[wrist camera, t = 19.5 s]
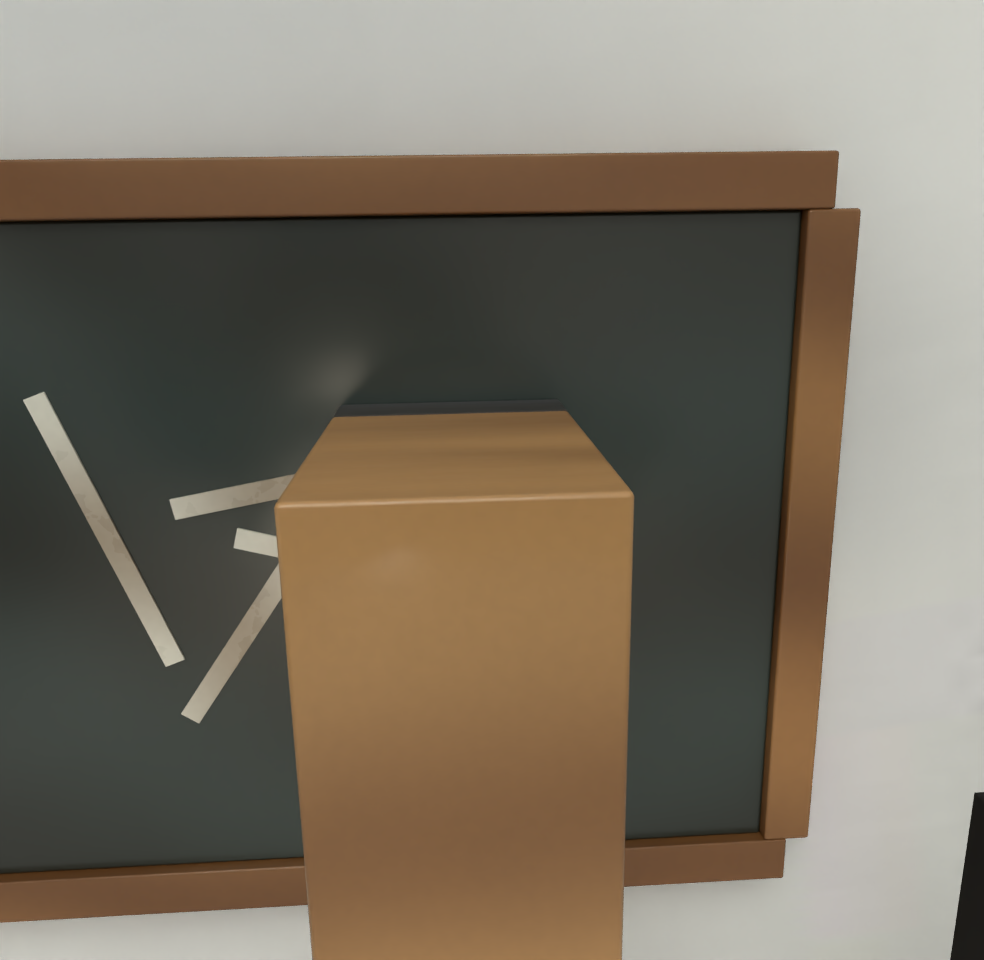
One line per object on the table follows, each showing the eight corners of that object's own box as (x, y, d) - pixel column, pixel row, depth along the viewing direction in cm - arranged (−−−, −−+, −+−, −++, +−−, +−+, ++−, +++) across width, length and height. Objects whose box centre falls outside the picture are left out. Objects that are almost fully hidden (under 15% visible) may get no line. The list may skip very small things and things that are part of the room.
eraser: (339, 404, 19) (272, 503, 12) (559, 398, 20) (635, 492, 12) (364, 790, 22) (322, 1081, 14) (557, 780, 22) (620, 1062, 14)
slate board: (-451, 173, 18) (-528, 165, 17) (836, 158, 20) (867, 149, 18) (-253, 897, 23) (-300, 940, 21) (783, 840, 24) (805, 876, 23)
